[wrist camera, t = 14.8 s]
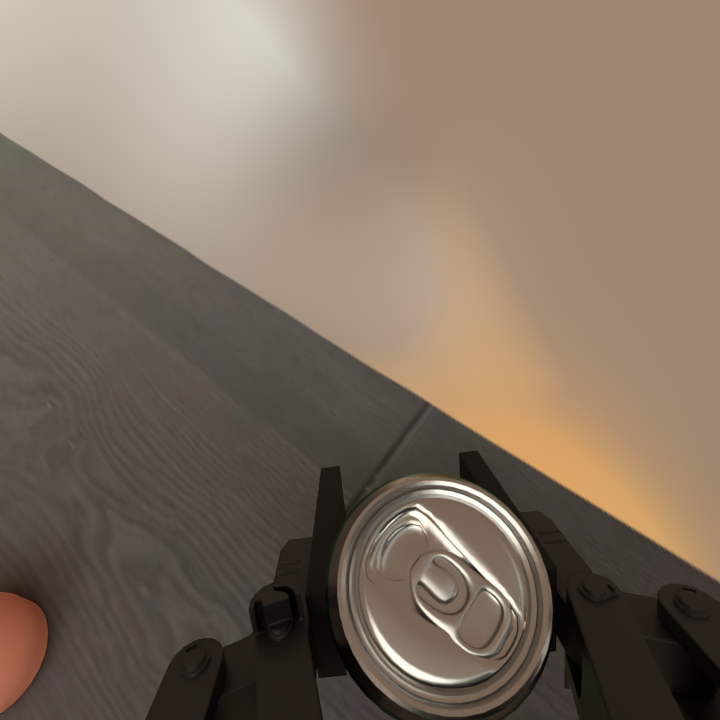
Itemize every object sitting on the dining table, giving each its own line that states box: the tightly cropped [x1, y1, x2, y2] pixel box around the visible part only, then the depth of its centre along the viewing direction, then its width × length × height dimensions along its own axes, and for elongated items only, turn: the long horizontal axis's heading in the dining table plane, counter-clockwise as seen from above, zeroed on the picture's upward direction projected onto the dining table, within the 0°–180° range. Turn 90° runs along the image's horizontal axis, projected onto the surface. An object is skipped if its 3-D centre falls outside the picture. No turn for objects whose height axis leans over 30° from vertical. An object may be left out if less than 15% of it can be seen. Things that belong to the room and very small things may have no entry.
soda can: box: [325, 473, 554, 720], centre depth 13 cm, size 5×5×12 cm
